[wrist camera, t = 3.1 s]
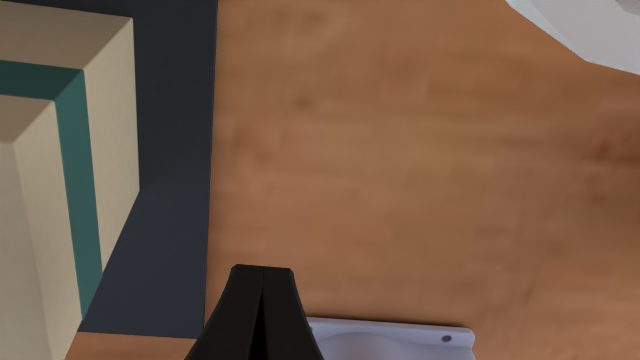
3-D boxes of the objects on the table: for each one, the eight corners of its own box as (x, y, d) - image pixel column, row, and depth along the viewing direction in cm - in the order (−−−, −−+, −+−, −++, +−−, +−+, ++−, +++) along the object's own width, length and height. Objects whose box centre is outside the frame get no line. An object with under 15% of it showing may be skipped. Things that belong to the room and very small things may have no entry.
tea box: (133, 16, 18) (16, 141, 10) (140, 191, 21) (57, 379, 14) (-11, -3, 17) (-248, 115, 10) (22, 180, 21) (-133, 370, 13)
